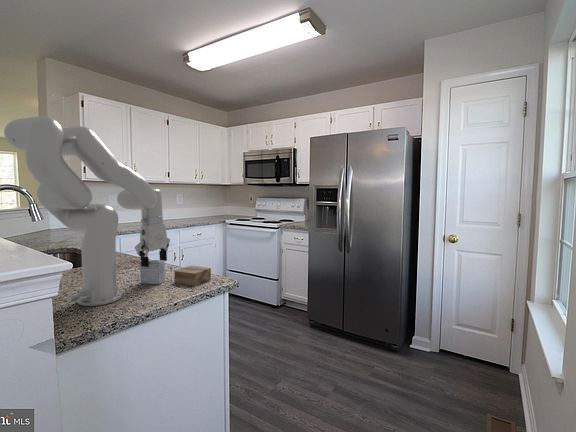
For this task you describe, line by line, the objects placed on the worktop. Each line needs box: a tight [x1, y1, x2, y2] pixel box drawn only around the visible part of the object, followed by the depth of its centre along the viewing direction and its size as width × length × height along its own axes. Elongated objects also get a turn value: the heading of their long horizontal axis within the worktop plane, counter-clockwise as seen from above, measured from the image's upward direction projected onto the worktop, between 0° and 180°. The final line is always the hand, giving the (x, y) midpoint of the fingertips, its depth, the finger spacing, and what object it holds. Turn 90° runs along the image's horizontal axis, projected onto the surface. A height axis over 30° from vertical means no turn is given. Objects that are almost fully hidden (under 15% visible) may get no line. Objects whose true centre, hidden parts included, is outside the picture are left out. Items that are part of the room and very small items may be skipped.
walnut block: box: [173, 265, 212, 287], centre depth 125 cm, size 10×10×5 cm
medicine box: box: [139, 259, 166, 285], centre depth 122 cm, size 8×4×9 cm, turn 84°
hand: (154, 263), depth 123 cm, fingers open, 9 cm apart
